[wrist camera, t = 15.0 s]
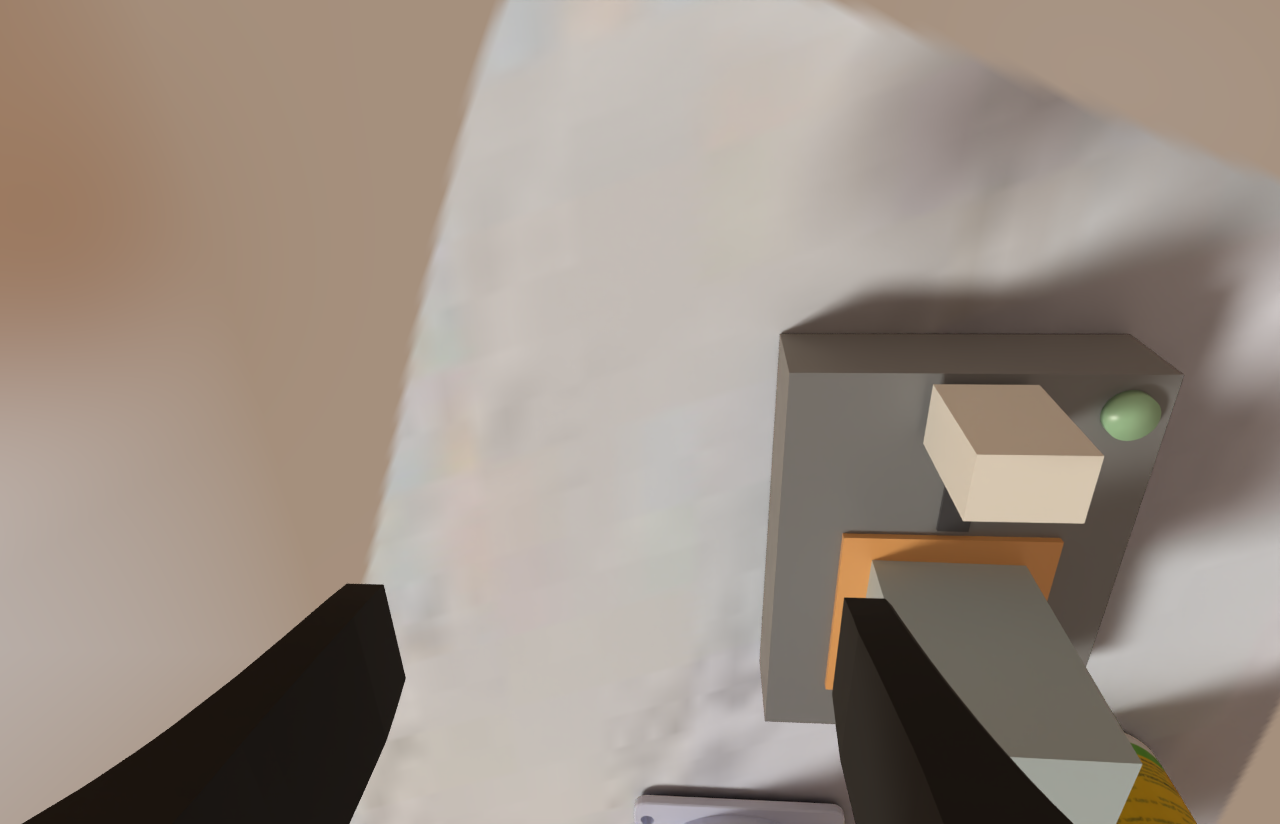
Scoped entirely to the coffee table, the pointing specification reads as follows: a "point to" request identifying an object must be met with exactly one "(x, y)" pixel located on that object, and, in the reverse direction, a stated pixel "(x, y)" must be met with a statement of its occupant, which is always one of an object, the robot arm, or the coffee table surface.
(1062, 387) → the switch box
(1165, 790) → the supplement bottle
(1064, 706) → the block
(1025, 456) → the lever
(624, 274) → the coffee table surface
